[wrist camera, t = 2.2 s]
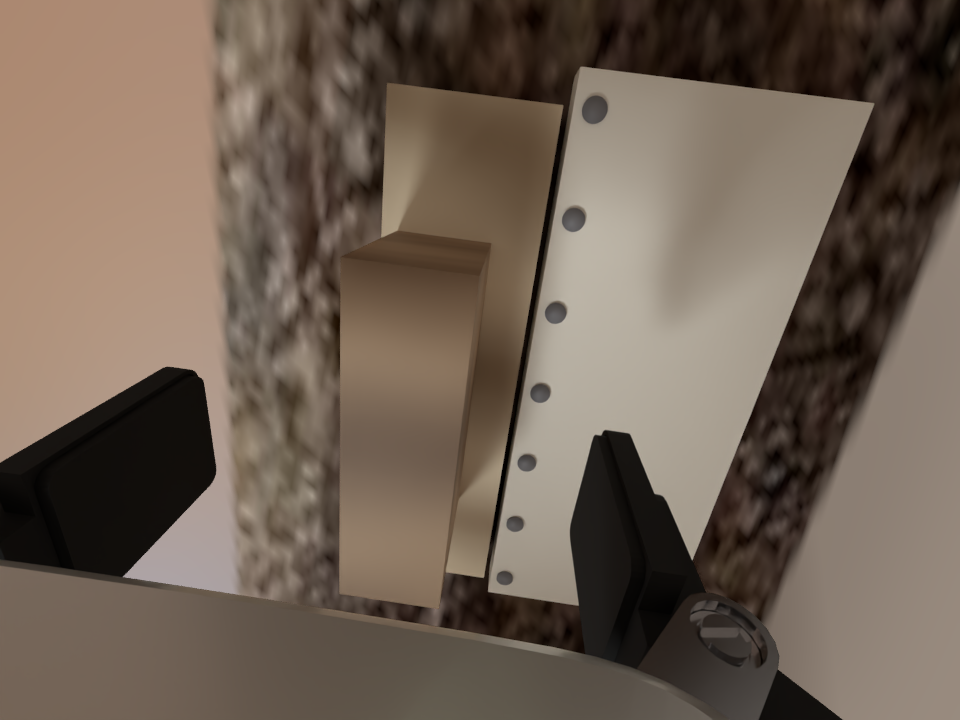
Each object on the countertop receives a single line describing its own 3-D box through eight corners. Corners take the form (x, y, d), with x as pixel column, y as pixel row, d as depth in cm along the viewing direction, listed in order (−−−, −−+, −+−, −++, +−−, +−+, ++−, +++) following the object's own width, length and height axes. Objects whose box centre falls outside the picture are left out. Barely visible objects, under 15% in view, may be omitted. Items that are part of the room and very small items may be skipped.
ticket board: (658, 590, 21) (669, 621, 20) (489, 565, 22) (487, 593, 20) (838, 110, 14) (877, 103, 12) (574, 77, 14) (581, 65, 12)
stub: (486, 551, 21) (473, 702, 15) (379, 535, 21) (324, 678, 15) (558, 111, 14) (590, 65, 8) (399, 91, 14) (314, 30, 8)
